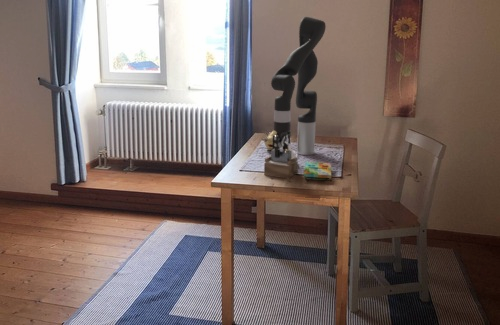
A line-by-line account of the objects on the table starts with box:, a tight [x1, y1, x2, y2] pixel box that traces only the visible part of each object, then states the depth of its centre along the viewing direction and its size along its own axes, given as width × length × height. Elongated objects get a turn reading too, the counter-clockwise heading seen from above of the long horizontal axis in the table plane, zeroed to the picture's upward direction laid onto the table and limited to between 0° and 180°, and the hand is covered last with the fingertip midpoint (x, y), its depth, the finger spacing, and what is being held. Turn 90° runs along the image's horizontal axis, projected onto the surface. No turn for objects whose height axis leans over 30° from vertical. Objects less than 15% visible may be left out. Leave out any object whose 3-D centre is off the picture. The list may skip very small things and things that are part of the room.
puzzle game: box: [303, 161, 332, 181], centre depth 216 cm, size 12×5×20 cm
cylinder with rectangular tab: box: [288, 137, 297, 159], centre depth 235 cm, size 9×9×12 cm
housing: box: [270, 148, 293, 163], centre depth 217 cm, size 8×4×6 cm, turn 62°
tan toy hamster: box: [264, 130, 277, 151], centre depth 262 cm, size 10×12×11 cm
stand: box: [263, 155, 299, 179], centre depth 218 cm, size 10×12×8 cm
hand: (281, 155), depth 217 cm, fingers open, 8 cm apart
